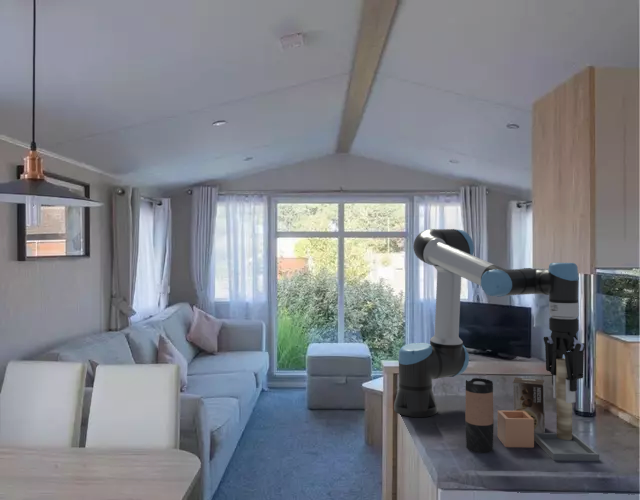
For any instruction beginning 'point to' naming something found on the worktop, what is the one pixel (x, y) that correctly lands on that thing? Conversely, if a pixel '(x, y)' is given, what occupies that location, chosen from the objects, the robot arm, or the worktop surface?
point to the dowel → (562, 402)
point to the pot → (515, 428)
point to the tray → (565, 447)
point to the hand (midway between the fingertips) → (564, 399)
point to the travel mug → (479, 415)
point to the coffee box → (530, 400)
